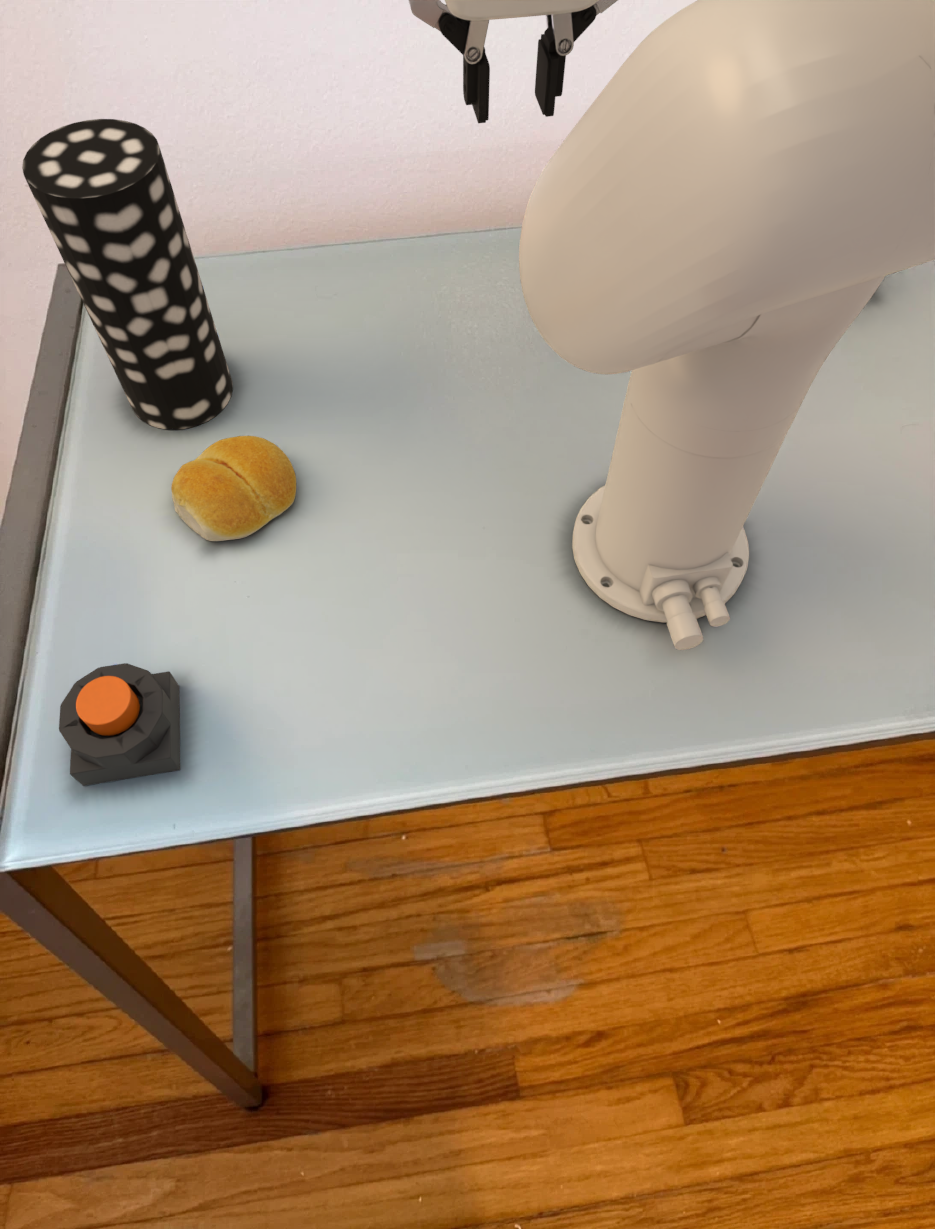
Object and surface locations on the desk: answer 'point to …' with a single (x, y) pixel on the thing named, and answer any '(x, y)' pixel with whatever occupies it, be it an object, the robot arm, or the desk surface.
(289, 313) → the desk surface
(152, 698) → the control block
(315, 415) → the desk surface
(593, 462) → the desk surface
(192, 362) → the spotted tube
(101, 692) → the button
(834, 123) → the robot arm
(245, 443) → the bread roll
